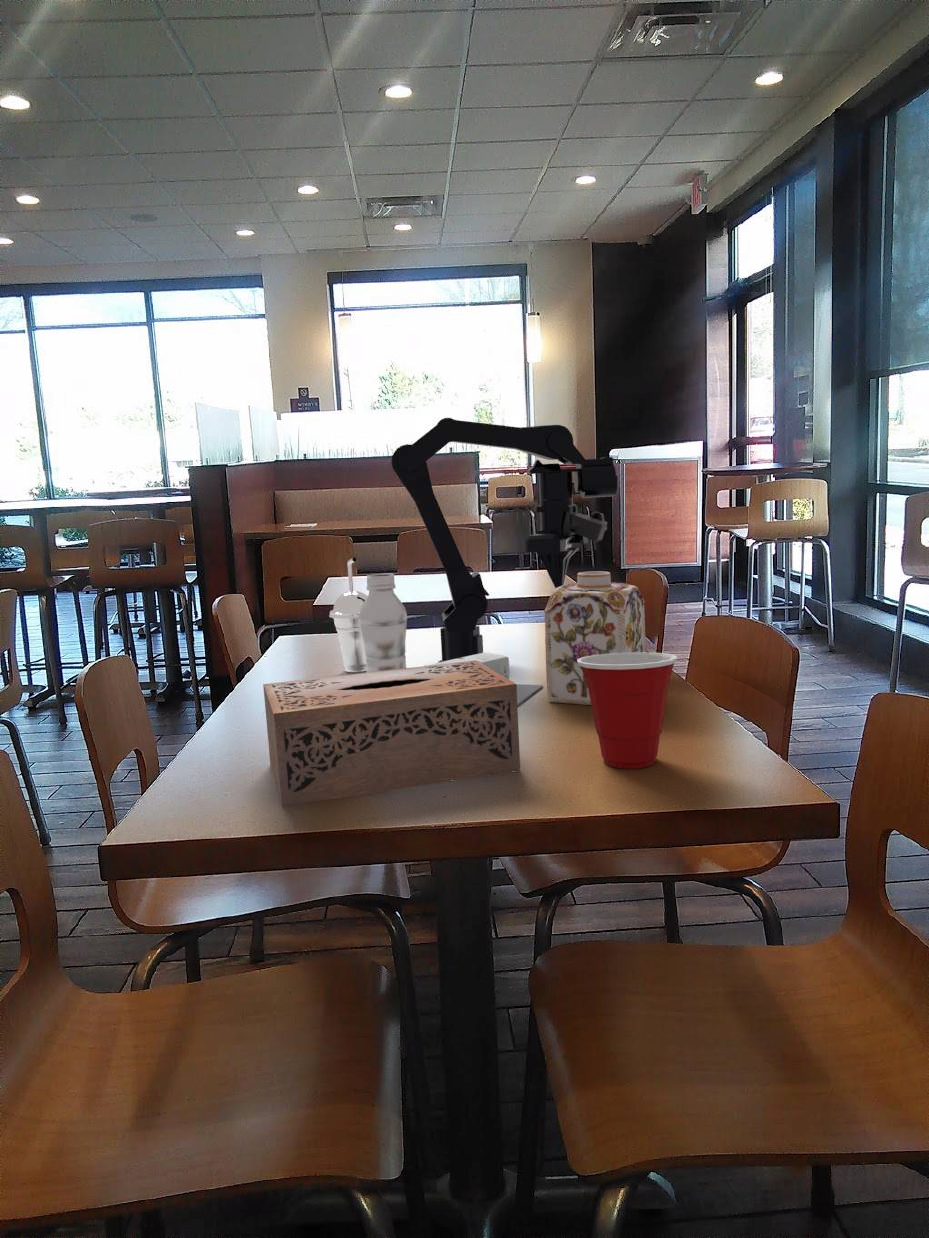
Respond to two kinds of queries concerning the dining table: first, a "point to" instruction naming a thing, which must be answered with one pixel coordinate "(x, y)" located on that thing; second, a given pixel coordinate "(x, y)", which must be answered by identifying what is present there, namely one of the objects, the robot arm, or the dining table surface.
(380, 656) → the plastic bottle
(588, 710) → the dining table surface
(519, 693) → the mat
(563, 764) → the dining table surface
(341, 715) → the tissue box cover
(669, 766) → the dining table surface
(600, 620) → the decorative jar
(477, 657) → the skincare box
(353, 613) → the cup with straw
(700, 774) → the dining table surface
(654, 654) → the plastic cup
